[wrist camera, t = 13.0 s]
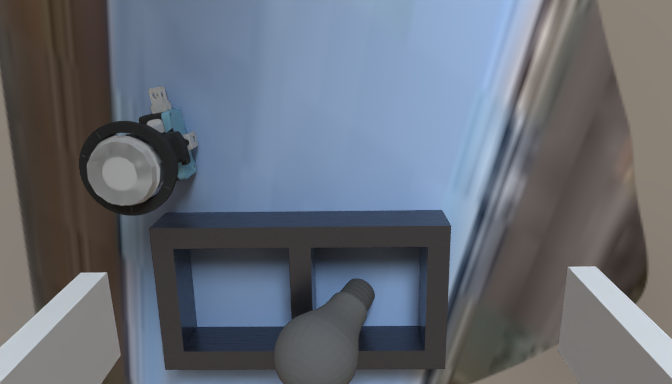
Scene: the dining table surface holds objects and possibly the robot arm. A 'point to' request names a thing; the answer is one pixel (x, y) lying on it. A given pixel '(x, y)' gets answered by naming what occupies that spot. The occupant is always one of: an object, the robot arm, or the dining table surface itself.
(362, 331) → the rectangular frame
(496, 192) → the dining table surface
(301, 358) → the light bulb
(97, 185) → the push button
